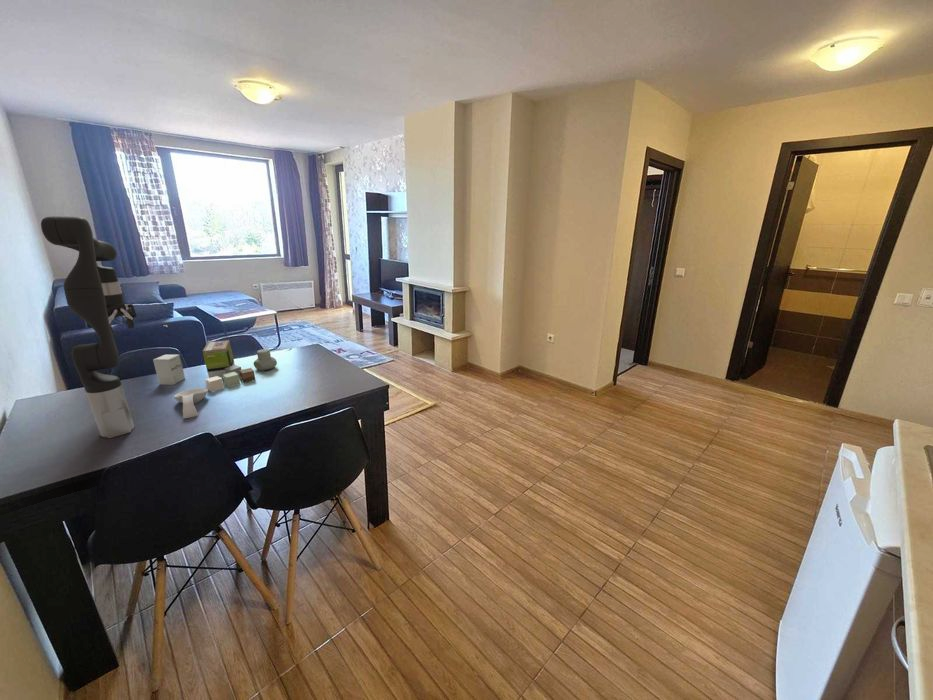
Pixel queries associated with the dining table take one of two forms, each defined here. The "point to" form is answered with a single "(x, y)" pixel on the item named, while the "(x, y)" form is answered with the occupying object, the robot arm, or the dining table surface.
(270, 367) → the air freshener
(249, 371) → the walnut cube
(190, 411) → the spoon rest
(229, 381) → the sage cube
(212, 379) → the cream cube
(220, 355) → the tea box
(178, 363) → the supplement box
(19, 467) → the dining table surface
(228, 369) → the slate cube
